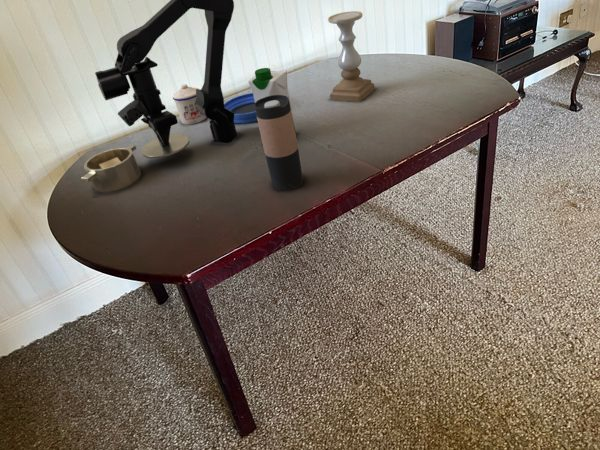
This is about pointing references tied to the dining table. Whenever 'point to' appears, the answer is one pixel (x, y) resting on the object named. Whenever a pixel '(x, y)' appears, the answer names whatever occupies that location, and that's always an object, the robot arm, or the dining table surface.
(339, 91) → the candle holder
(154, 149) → the lid
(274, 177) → the travel mug
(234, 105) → the bowl
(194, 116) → the teacup with lid
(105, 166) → the cube
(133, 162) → the pot
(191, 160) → the dining table surface
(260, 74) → the milk carton
